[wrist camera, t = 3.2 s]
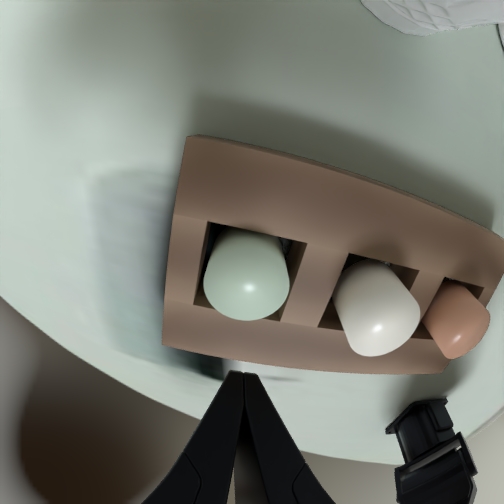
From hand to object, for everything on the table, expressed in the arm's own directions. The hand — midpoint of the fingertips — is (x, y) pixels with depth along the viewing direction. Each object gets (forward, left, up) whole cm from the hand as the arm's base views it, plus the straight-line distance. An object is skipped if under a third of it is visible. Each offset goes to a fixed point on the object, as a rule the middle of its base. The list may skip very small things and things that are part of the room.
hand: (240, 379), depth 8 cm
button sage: (0, 0, -9) cm, 9 cm away
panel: (0, -7, -10) cm, 12 cm away
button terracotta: (0, -14, -8) cm, 16 cm away
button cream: (0, -7, -8) cm, 10 cm away
